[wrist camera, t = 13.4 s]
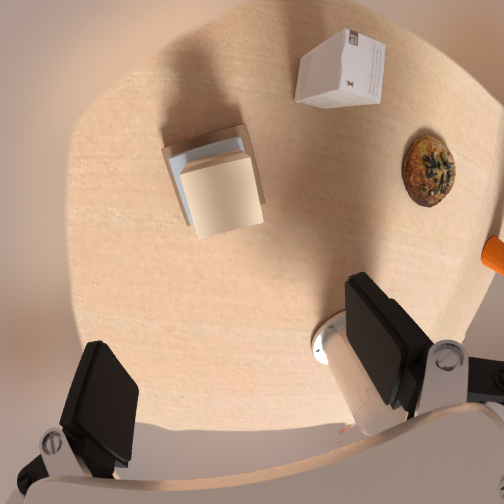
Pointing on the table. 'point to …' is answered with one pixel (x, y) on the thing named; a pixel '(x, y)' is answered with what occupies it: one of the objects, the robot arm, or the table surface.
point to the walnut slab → (205, 140)
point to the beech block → (221, 193)
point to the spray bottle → (494, 255)
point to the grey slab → (182, 158)
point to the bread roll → (428, 171)
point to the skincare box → (342, 72)
